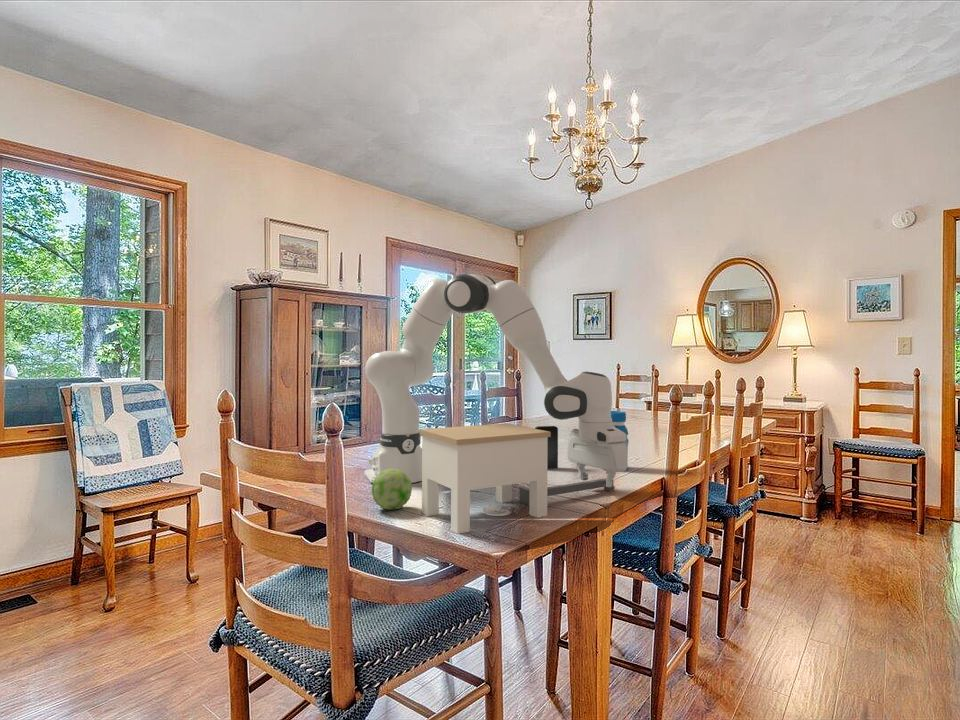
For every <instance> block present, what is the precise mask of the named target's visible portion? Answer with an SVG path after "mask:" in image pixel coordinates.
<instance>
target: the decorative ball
mask: <svg viewBox="0 0 960 720" xmlns="http://www.w3.org/2000/svg"><path fill="white" fill-rule="evenodd" d="M412 489H413V486H412V483H411V480H410V479H409V477H408V476H407V475H406V474H405V473H404V472H402V471H401V470H398V469H387V470H384V471H382V472H381V473H380V474H379V475H377V476H376V478H375V479H374V481H373V483H372V486H371V494H372V498H373V501H374V503H376V505H378V506H379V507H380V508H381V509H384V510H387V511H395V510H398V509H400V508H402V507H403V506H405V505H406V504H407V502H409V500H410V499H411V495H412V492H413V490H412Z"/></svg>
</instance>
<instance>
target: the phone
mask: <svg viewBox="0 0 960 720" xmlns="http://www.w3.org/2000/svg"><path fill="white" fill-rule="evenodd" d="M534 429H539V430H544V431H549V432H551V437H548V448H547V470H548V469H549V470H551V469H559V428H558V426H556V425H541V426H539V425H538V426H535V428H534Z"/></svg>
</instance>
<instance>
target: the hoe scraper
mask: <svg viewBox="0 0 960 720" xmlns="http://www.w3.org/2000/svg"><path fill="white" fill-rule="evenodd" d="M606 478H607V477H605V478H599V479H593V480H584V481H581V482H579V481H578V482H574V483H567V484H559V485H554V486H547V497H551V496H557V495H562V494H568V493H569V494H570V493H575V492H581V491H589V490H592V489H599V488H603V490H604V491H606V492H609V493H610V492H615V485H614V479H613V480H612V487H606V486H604V480H605V479H606ZM529 488H530V487H527V486H520V487H519V502H520V503H522V504H523V505H524V504H525V505H527V506H529Z"/></svg>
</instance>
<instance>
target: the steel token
mask: <svg viewBox="0 0 960 720" xmlns="http://www.w3.org/2000/svg"><path fill="white" fill-rule="evenodd" d="M482 512H483V514H485V515H487V516H491V517H500V516H501V517H503V516H508V515H511V514H512V513H513V509H512V508H511V507H509V506H507V505H489V506H485V507H484V508H483V509H482Z"/></svg>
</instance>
